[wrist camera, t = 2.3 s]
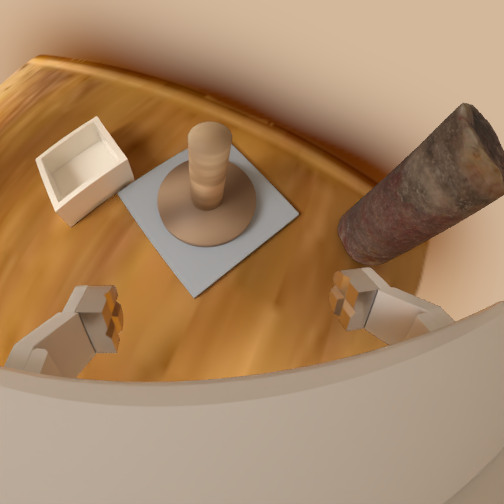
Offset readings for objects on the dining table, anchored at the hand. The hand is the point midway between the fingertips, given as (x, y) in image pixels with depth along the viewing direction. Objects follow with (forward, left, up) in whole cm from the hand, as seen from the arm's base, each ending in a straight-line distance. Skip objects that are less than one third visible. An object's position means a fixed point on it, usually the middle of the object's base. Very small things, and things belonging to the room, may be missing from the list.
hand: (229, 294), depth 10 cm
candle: (+4, +19, -16) cm, 25 cm away
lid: (-10, +7, -15) cm, 19 cm away
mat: (-10, +7, -16) cm, 20 cm away
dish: (-22, -2, -16) cm, 27 cm away
